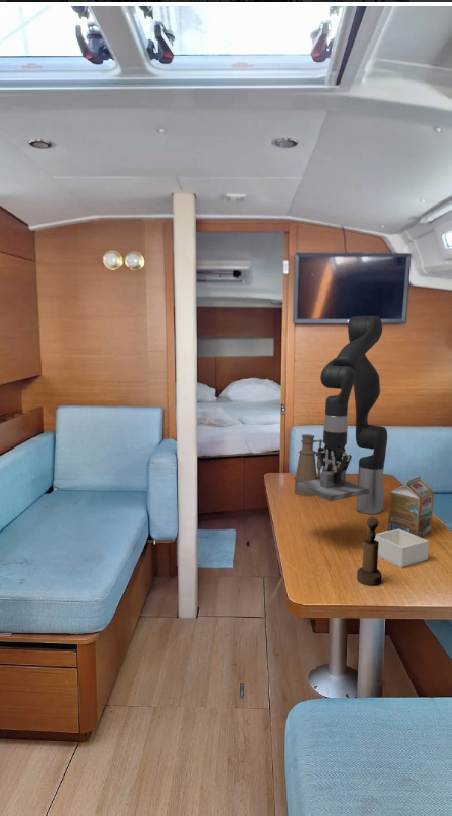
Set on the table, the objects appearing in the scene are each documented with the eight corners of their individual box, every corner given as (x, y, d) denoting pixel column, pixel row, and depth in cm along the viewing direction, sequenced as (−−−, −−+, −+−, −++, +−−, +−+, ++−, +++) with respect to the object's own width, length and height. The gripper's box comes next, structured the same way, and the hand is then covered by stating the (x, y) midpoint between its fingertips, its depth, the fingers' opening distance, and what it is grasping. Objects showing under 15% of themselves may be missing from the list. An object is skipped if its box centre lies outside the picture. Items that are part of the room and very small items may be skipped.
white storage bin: (397, 546, 170) (398, 528, 169) (427, 559, 160) (429, 540, 159) (371, 553, 164) (372, 534, 163) (401, 567, 154) (402, 548, 154)
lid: (334, 481, 181) (334, 463, 180) (368, 493, 168) (369, 474, 167) (297, 487, 173) (297, 469, 172) (330, 501, 160) (331, 481, 159)
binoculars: (340, 490, 230) (343, 434, 227) (344, 497, 220) (347, 438, 217) (292, 489, 231) (294, 432, 227) (294, 496, 221) (297, 437, 218)
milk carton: (402, 524, 191) (406, 472, 188) (431, 532, 183) (435, 478, 181) (387, 531, 184) (391, 477, 181) (416, 540, 176) (421, 484, 174)
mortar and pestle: (353, 575, 149) (357, 513, 147) (376, 574, 150) (380, 513, 147) (361, 586, 143) (365, 521, 140) (385, 585, 143) (389, 521, 141)
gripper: (360, 431, 164) (357, 486, 166) (329, 424, 175) (327, 475, 178) (342, 433, 160) (339, 489, 162) (311, 426, 172) (309, 478, 174)
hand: (332, 481), depth 170 cm, fingers closed on lid, 3 cm apart
